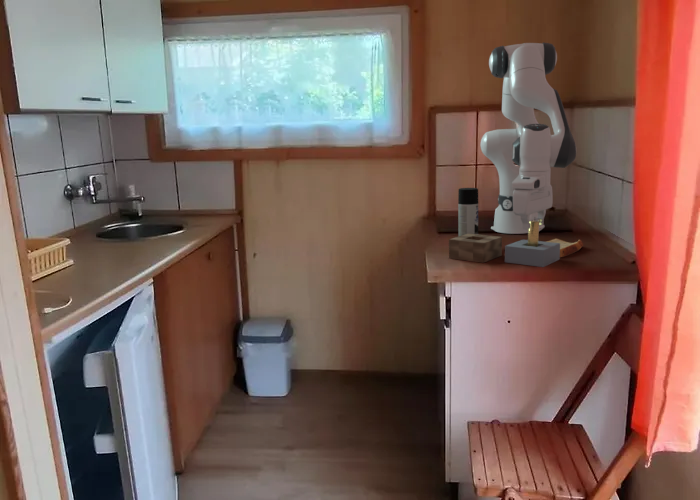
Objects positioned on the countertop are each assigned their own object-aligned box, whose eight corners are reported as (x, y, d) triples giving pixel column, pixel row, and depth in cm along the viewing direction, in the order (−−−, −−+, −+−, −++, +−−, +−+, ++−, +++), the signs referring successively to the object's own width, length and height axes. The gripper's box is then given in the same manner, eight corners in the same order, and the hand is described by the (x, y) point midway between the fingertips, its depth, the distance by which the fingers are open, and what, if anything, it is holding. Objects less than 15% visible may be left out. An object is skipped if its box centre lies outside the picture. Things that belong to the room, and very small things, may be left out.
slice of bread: (546, 259, 177) (546, 248, 176) (523, 248, 194) (523, 237, 194) (602, 256, 178) (602, 244, 178) (574, 245, 196) (575, 234, 195)
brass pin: (529, 259, 177) (531, 220, 174) (539, 260, 175) (540, 221, 172) (525, 261, 174) (526, 221, 172) (535, 262, 173) (536, 222, 170)
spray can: (478, 248, 195) (478, 189, 191) (457, 248, 196) (458, 189, 192) (478, 244, 201) (478, 187, 197) (458, 244, 203) (458, 187, 198)
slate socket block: (522, 254, 183) (522, 239, 182) (559, 259, 175) (560, 243, 174) (504, 262, 174) (505, 245, 173) (543, 267, 166) (543, 250, 165)
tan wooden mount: (468, 251, 191) (468, 233, 190) (501, 255, 183) (502, 236, 182) (448, 258, 182) (448, 239, 181) (483, 262, 174) (483, 243, 173)
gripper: (538, 177, 179) (537, 221, 182) (509, 183, 164) (508, 231, 167) (558, 177, 175) (557, 222, 178) (530, 184, 160) (528, 232, 163)
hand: (533, 226), depth 173 cm, fingers open, 8 cm apart
